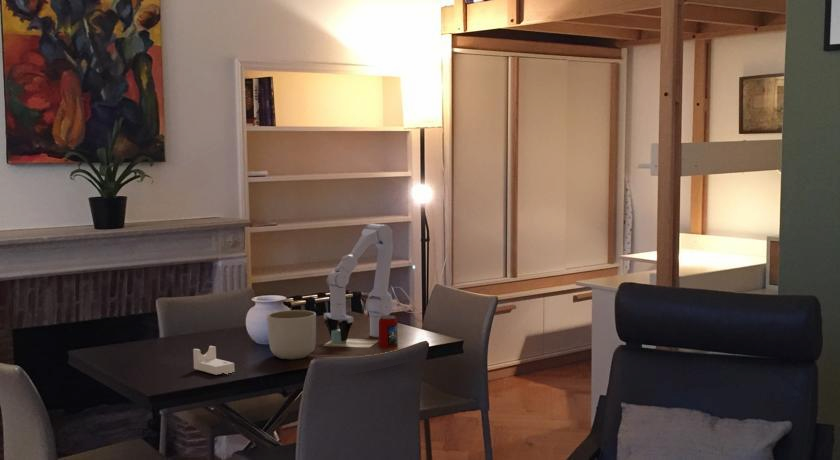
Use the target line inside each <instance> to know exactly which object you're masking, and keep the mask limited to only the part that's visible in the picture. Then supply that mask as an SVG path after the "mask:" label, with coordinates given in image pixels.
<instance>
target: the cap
mask: <svg viewBox="0 0 840 460" xmlns="http://www.w3.org/2000/svg"><path fill="white" fill-rule="evenodd" d="M330 339H331V340H330V341H331V343H334V344H343V343H346V342H347V340H346V341H342V340H341V332H340V328H337V329H333V330H331V337H330Z"/></svg>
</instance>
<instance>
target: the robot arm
mask: <svg viewBox="0 0 840 460" xmlns="http://www.w3.org/2000/svg"><path fill="white" fill-rule="evenodd" d="M393 234H394V231H393V230H392V228H391V227H390V226H389V225H388V224H378V223H368V224H366V225H365V227H364V228H363V230H362V231H361V235H360V237H359V239H358V241H357V242H356V243H355V246H354V247H353V248H352V250H351V252H350V253H349V254H345V255H344V256H342V257H341V260H340V262H339V264H338V265H337V266H336V267H335V268H334V270H332V271H330V272H329V274H328V275H327V277H326V280H325V281H326V284H327V285H328V288H329V293H330V294H329V300H330V301H329V302H330V308H329V309H330V312H324V313H323V319H325V320H324V321H323V322H324V325H325V326H326V328H327V330H328V333H329V334H328V335H329V337H330V338H331V330H333V329H340V332H341V340H342V341H346V340H347V339H348V338H349V333H350V330H351V328H352V326H353V324H354V317H353V316H351V315H348V314H347V304H346V302H347V301H346V300H347V299H346V292H347V291H346V286H347V285H348V284H349V283H350V282H349V281H350V276H351V274H352V273H353V271H354V270H355V269H356V268H357V266H358V259H359V258H360V257H361V256H362V255H363V254H364V252H365V251H366V250H367V249H368V247H369V246H370V245H373V244H374V245H375V247H376V248H377V250H378V251H377V256H376V257H377V258H376V264H375V265H376V267H375V274H374V283H373V289H372V290H371V291H370V292H369V293H368V297H367V299H366V301H365V310H366V311H367V312H368V315H369V335H370V336H371V337H374V338H379V320H380V318H381V316H387V315H390V314H391V313H392V311H393V302H392V299H393V298H392V295H391V293H390V292H389V282H390V275H391V268H392V267H391V265H392V259H393V251H394V242H393ZM339 321H340V322H339Z"/></svg>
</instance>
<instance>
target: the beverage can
mask: <svg viewBox="0 0 840 460" xmlns="http://www.w3.org/2000/svg"><path fill="white" fill-rule="evenodd" d="M378 340H379V341H378V346H379V348H383V349H393V348H397V347H398V345H399V344H398V342H399V340H398V319H397V318H396V316H395V315H390V314H389V315H387V316H381V318H380V320H379V337H378Z"/></svg>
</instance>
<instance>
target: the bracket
mask: <svg viewBox="0 0 840 460" xmlns="http://www.w3.org/2000/svg"><path fill="white" fill-rule="evenodd" d="M192 352H193V369H195V370H197V371H201V372H205V373H208V374H212V375H216V376H217V375H224V374H227V375H229V374H228V373H232V372H235V363H234V362H231V361H228V360H223V359H221V358H220V359H219V358H217V346H213V345H209V346H208V349H207V351H206V352H205V354H202V353H201V349H199V348H193V349H192ZM222 373H224V374H222ZM232 374H233V373H232Z"/></svg>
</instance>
